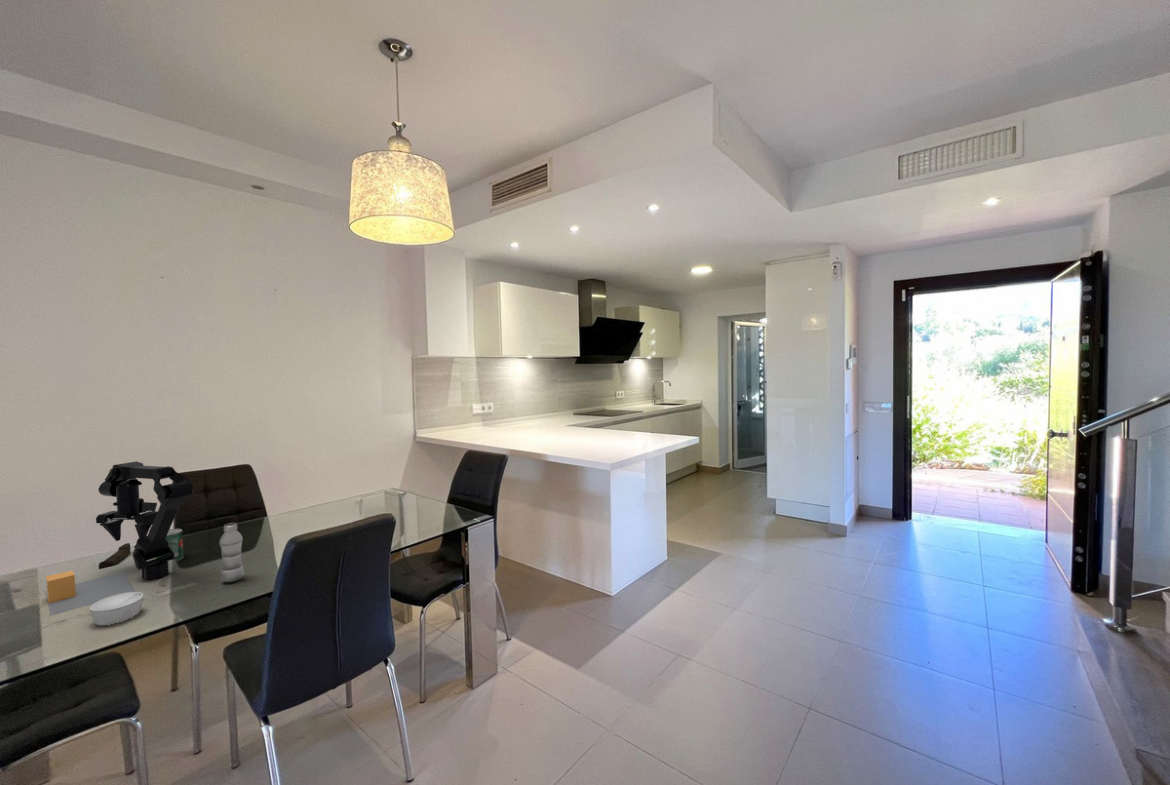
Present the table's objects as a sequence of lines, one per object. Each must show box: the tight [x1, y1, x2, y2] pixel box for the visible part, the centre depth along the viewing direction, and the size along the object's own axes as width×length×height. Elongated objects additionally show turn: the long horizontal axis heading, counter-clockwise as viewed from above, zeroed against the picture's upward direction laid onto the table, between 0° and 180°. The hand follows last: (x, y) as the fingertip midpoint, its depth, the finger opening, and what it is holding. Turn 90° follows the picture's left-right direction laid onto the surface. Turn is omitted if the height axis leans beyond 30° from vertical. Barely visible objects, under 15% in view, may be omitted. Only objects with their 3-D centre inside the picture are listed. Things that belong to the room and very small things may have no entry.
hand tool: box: [98, 542, 131, 570], centre depth 174 cm, size 19×4×5 cm, turn 24°
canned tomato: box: [155, 528, 185, 561], centre depth 175 cm, size 8×8×11 cm
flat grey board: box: [44, 571, 137, 616], centre depth 147 cm, size 24×18×2 cm
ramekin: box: [89, 591, 145, 626], centre depth 134 cm, size 11×11×5 cm
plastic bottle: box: [219, 522, 245, 583], centre depth 157 cm, size 6×7×20 cm
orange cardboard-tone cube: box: [45, 569, 76, 604], centre depth 143 cm, size 6×6×7 cm
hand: (130, 540), depth 160 cm, fingers open, 9 cm apart
